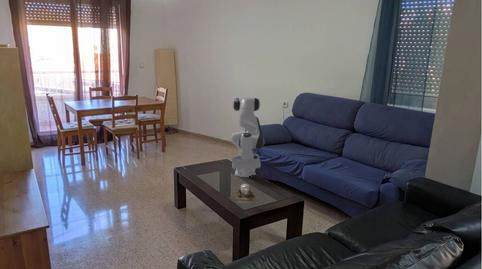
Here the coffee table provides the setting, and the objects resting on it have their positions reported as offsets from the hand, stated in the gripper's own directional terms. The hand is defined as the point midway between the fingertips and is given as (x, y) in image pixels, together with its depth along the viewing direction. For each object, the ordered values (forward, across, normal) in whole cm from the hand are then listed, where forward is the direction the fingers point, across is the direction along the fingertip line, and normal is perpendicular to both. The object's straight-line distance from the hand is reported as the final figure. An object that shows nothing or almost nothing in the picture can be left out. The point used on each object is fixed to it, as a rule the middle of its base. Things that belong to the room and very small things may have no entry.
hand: (246, 174), depth 243 cm
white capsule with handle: (+18, 0, +5) cm, 19 cm away
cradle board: (+19, 0, +3) cm, 19 cm away
